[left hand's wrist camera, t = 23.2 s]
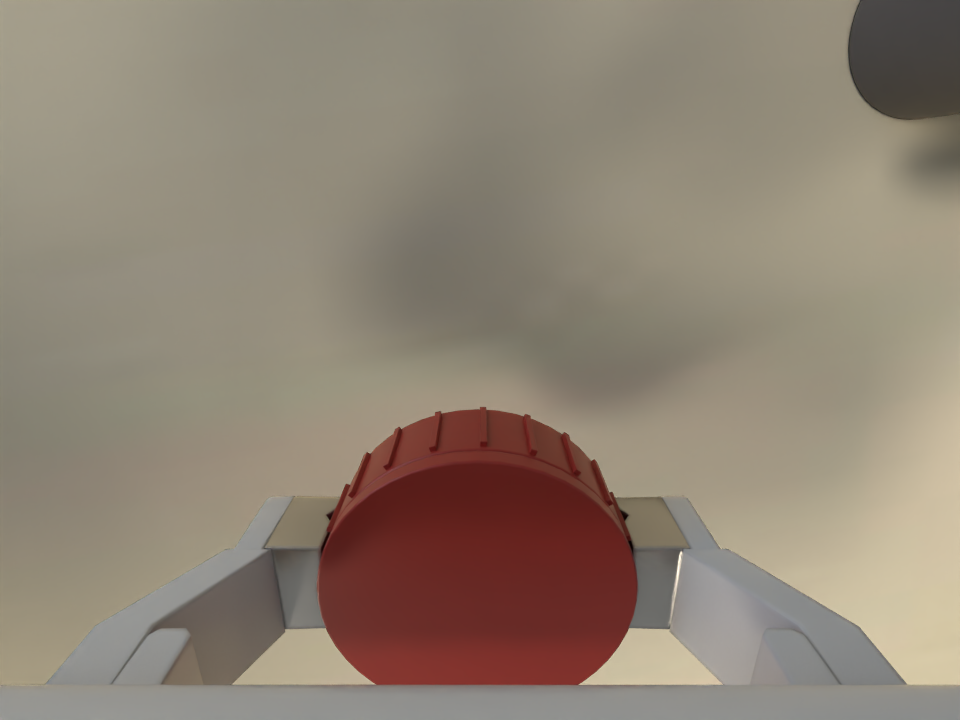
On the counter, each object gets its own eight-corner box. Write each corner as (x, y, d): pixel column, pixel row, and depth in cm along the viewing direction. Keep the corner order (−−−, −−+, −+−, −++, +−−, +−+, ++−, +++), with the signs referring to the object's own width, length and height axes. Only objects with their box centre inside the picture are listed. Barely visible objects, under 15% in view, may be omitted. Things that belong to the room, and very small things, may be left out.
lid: (297, 443, 10) (257, 503, 8) (586, 372, 9) (611, 418, 7) (390, 652, 11) (374, 739, 10) (635, 603, 11) (664, 683, 9)
